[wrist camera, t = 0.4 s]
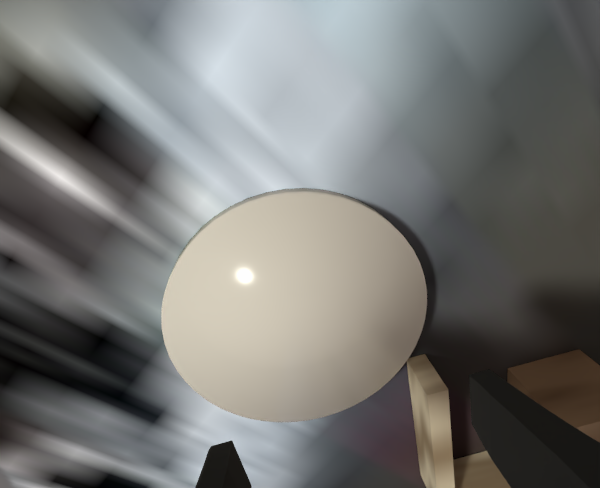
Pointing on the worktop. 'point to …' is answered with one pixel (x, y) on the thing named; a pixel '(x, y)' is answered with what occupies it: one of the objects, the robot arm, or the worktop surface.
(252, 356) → the ceramic plate
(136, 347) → the worktop surface
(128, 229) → the worktop surface
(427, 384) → the wooden u-shaped frame
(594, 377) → the walnut block
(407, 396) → the worktop surface
